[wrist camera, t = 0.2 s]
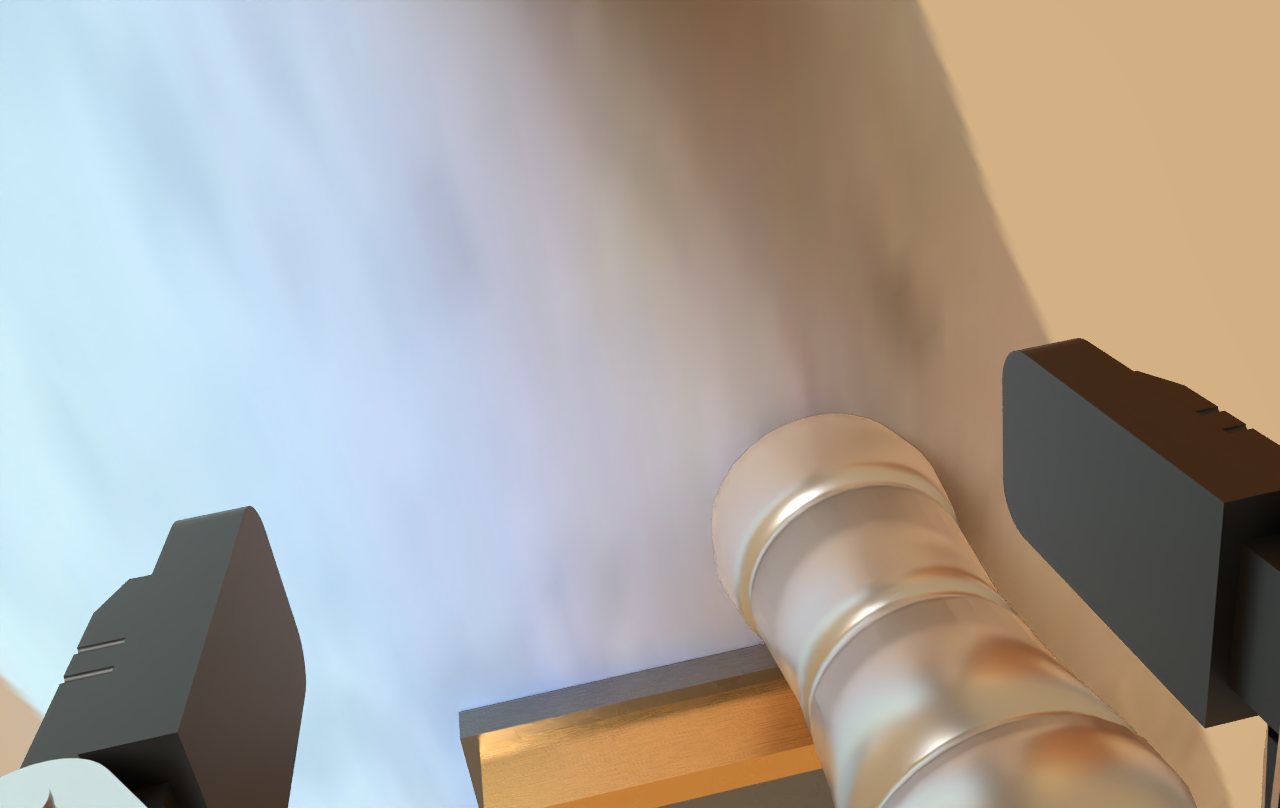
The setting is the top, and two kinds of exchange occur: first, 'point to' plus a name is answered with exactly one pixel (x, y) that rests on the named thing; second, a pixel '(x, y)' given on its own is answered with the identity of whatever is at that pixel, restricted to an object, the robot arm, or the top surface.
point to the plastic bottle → (910, 637)
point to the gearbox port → (651, 741)
